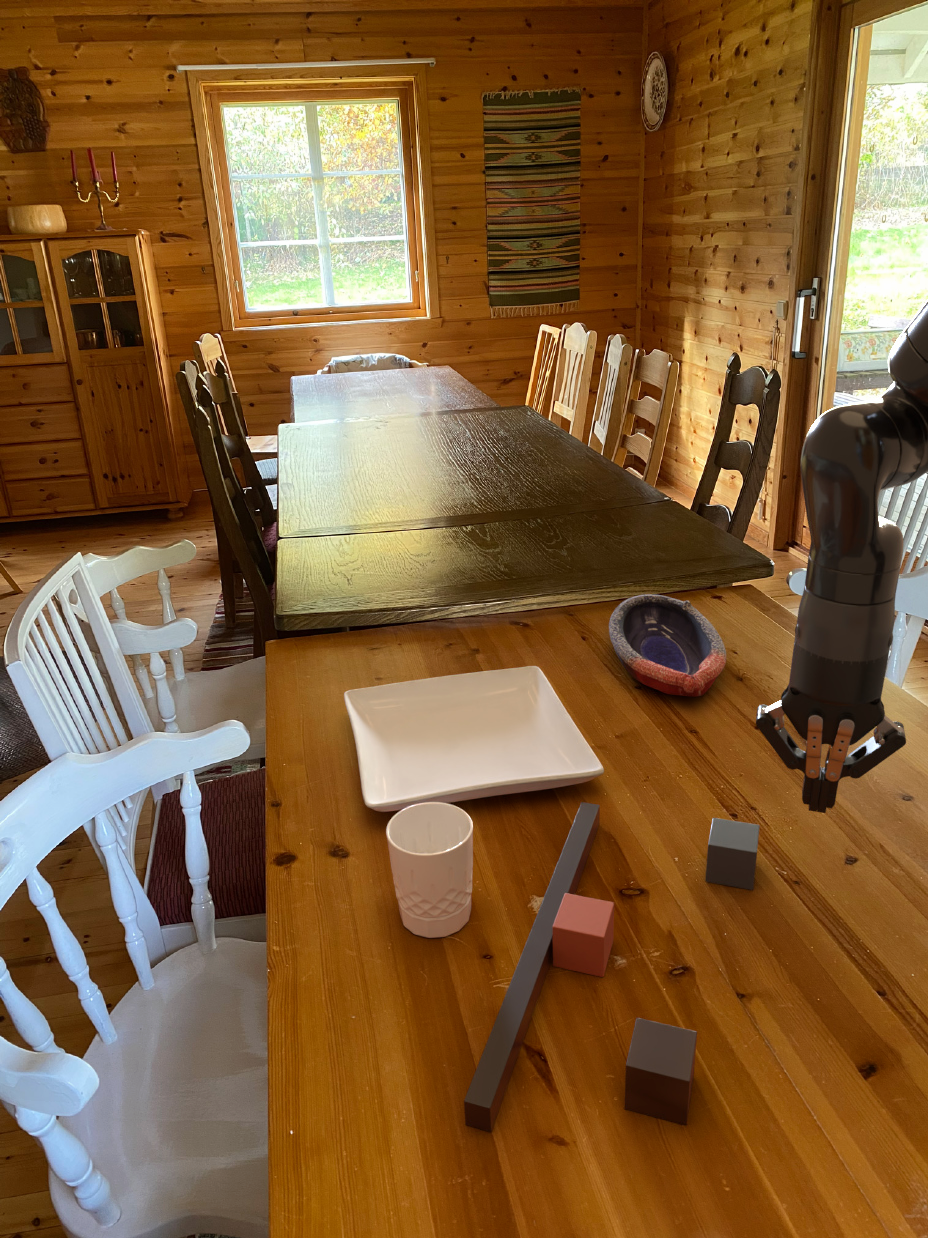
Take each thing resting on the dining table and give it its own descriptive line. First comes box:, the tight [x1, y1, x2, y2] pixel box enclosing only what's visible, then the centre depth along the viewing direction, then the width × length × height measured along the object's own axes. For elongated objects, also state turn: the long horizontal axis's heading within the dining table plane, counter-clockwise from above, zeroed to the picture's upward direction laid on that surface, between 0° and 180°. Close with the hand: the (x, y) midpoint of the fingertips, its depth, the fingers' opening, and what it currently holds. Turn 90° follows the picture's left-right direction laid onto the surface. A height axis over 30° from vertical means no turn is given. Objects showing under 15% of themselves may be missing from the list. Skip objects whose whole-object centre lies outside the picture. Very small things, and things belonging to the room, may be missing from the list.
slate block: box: [704, 817, 760, 891], centre depth 90 cm, size 4×4×4 cm
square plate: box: [343, 665, 605, 813], centre depth 112 cm, size 27×27×4 cm
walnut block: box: [623, 1017, 698, 1126], centre depth 68 cm, size 4×4×4 cm
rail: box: [463, 801, 601, 1133], centre depth 82 cm, size 2×38×2 cm, turn 160°
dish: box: [608, 594, 727, 697], centre depth 132 cm, size 16×31×5 cm, turn 179°
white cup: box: [385, 802, 474, 939], centre depth 85 cm, size 8×8×10 cm
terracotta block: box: [552, 893, 615, 978], centre depth 81 cm, size 4×4×4 cm
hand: (816, 807), depth 85 cm, fingers closed
